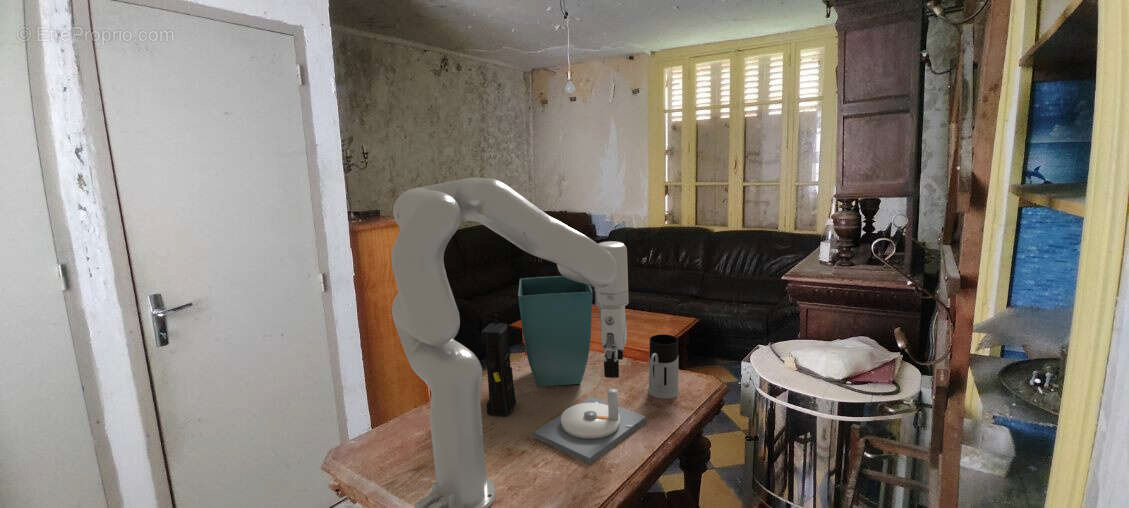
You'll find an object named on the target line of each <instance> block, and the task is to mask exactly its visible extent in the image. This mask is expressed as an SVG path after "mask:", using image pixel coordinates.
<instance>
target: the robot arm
mask: <svg viewBox="0 0 1129 508" xmlns="http://www.w3.org/2000/svg"><path fill="white" fill-rule="evenodd" d="M392 209H393V210H392V214H393V218H394V221H395V223H396V224H397V226H398V227H399V228H400V230H399V231H398V234H397V237H396V239H395V241H394V244H393V247H392V251H391V265H392V266H391V267H392V272H393V276H394V280H395V282H396V287H397V290H398V292H397V294H396V295H395V297H394V300H393V303H392V307H391V310H392V311H391V313H392V319H393V324H394V326H395V329H396V331H397V332H396V333H397V335H398V337H399V339H400V342H401V346H402V348H403V350H404V351H403V352H404V353H405V356H406V358H407V361H408V363H409V365H410V367H411V369H412V371H413V372H414V373H415V374H416V375H417V376H418V377H419V378H420V379H421V380H422V381H423V382H424V383H425V385H426V386H427V387H429V390H430V393H431V394H430V397H431V398H430V407H429V424H430V432H431V442H432V443H431V444H432V450H433V451H432V452H433V462H434V463H433V464H434V472H435V473H434V474H435V482H434V483H432V484H431V485H430V486H431V491H430V492H428V494H427V496H425V497H422V498H421V499H419V500H417V501H416V502H414V508H489V507H490V506H491V505H492V504H493V502H494V501H495V498H496V486H495V484H494V482H493V481H492V480H491V479H490V478H489V477H487V470H486V457H485V445H484V430H483V422H482V421H483V417H482V404H481V403H482V389H483V380H484V379H483V376H484V374H483V367H482V364H481V362H480V360H479V359H478V357H477V355H475V353H474V352H473V351H472V350H470V349H469V348H467V347H466V346H465V345H463V344H462V343H460V342H458V341H457V340H455V337H457V335H458V333H459V330H460V325H461V318H460V312H459V309H458V306H457V303H456V300H455V297H454V294H453V291H452V288H451V286H450V282H449V279H448V277H447V275H448V274H447V272H446V268H445V262H444V256H445V251H446V248H447V246H448V244H449V242H450V240H452V237H453V236H454V235H455V234H456V232H457V230H458V229H459V227H460V224H461V223H464V222H465V223H466V222H469V221H470V222H471V221H472V222H477V223H479V224H481V225H483V226H485V227H486V228H488V229H489V230H491V231H492V232H494V233H495V234H497V235H499V236H501V237H502V238H503V239H504V238H505V240H507V241H508V242H510V243H512V244H513V245H515V247H518V249H521V250H523V251H524V252H526V253H528V254H530V255H531V256H534V257H537V258H540V259H543V260H545V261H549V262H552V263H554V264H556V266H557V269H558V273H560V275H561V276H564V277H566V278H568V279H570V280H573V281H576V282H580V283H583V284H586V285H590V287H591V288H592V287H593V288H594V289H593V290H594V304H595V306H596V307H598V308H599V309H600V310H599V313H600V315H599V317H600V319H599V320H600V323H599V324H600V341H601V343H600V344H601V348H602V350H603V351H604V355H603V356H604V357H603V371H604V372H603V373H604V378H607V379H619V377H620V364H619V360H623V359H624V351H623V350H624V349H625V348H626V342H627V336H628V334H627V318H626V317H627V316H626V306H627V305H628V304H629V279H628V278H629V273H628V271H629V270H628V249H627V246H626V245H625V244H624V243H623V242H620V241H611V240H608V241H602V242H599V243H597V242H596V241H594V240H593V239H592V238H590V237H588V236H586V235H585V234H583V233H582V232H580V231H578V230H576V229H574V228H572V227H570V226H568V225H567V224H565V223H563V221H560V220H558V219H556V218H554V217H552V216H550V215H549V214H547V213H546V212H544V211H543V210H542V209H540V208H539V207H537V206H536V205H535V204H533V203H532V202H530V201H529V200H528V199H526V197H524V196H522V195H521V194H519V192H517V191H516V190H514V189H513V188H511V187H510V186H508V185H507V184H506V183H504V182H502V181H500V180H498V179H495V178H486V177H466V178H462V179H458V180H457V179H456V180H451V181H447V182H442V183H437V184H430V185H425V186H420V187H414V188H410V189H408V190H405V191H404V192H402V193H401V194H399V196H398V197H397V198H396V200H395V202H394V204H393V208H392Z"/></svg>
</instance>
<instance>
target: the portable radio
mask: <svg viewBox="0 0 1129 508" xmlns="http://www.w3.org/2000/svg"><path fill="white" fill-rule="evenodd" d="M497 316H498V314H494V317H495V321H494V322H493V323H489V324H488V325H486V327H484V329H482V330H481V332H480V336H481V338H480V339H481V343H484V345H485V356H486V372H487V384H488V385H487V386H488V397H489V398H488V401H487V403H486V414H487V415H489V416H497V417H498V416H499V417H508V416H509V415H510V414H511V413H512V411H513V410H514V407H515V405H516V404H517V400H516V394H515V386H514V383H515V382H514V375H513V374H514V373H513V367H512V366H511V359H510V355H511V344H510V331H509V326H508V323H502V322H499V320H498V317H497Z"/></svg>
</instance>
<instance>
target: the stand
mask: <svg viewBox="0 0 1129 508" xmlns="http://www.w3.org/2000/svg"><path fill="white" fill-rule="evenodd" d="M582 403H600V404H605V405H608V401H605V400H603V399H600V398H597V397H595V396H590V397H587V398H586V399H585V400H583V401H582V402H580V403H579V404H582ZM618 413H619V415H620V426H619V428H618V430H617V431H615V432H614V433H613V434H611V435H609V436H606V437H602V438H597V439H584V438H578V437H575V436H572V435H570V434H568V433H567V432H565V431H564V430H563V428H562V425H561V416H562V413H561V414H560V415H558V416H556V417H554V418H553V419H552V420H550V421H548V422H546V423H545V424H543V425H541V426H540V427H538V428H536V429H535V430H533V431H532V438H534V439H535V440H537V439H538V441H540V442H542V443H544V444H546V445H548V446H550V447H552V446H553V448H554V447H555V448H554V449H556V448H557V450H558V449H559V451H561V452H563V453H565V454H567V455H569V456H571V457H573V458H576V459H578V460H580V461H582V462H584V463H587V464H588V465H591V464H592V463H594V462H595V461H596V460H598V459H600V457H602V456H603V455H604V454H606V453H607V452H608V451H609V450H610V449H612V448H614V446H616V445H618V444H619V443H620V442H621V441H624V439H625V438H627V437H628V436H629V435H631V434H632V433H633V432H635V431H636V430H637V429H639V428H640V427H642V426H643V425H644V424H646V422H647V416H646V415H643V414H640V413H639V412H635V411H634V410H633V411H632V410H630V409H627V408H625V407H622V406H619V405H618Z"/></svg>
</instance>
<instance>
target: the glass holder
mask: <svg viewBox="0 0 1129 508" xmlns="http://www.w3.org/2000/svg"><path fill="white" fill-rule="evenodd" d="M647 393H648V394H649V395H650V396H652V397H654V398H658V399H662V400H665V399H669V400H670V399H674V398H676V397H678V396H679V395H680V393H681V390H680V388H679V339H678V337H676V336H674V335H671V334H663V333H662V334H655V335H651V336H650V337H649V354H648V388H647Z"/></svg>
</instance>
